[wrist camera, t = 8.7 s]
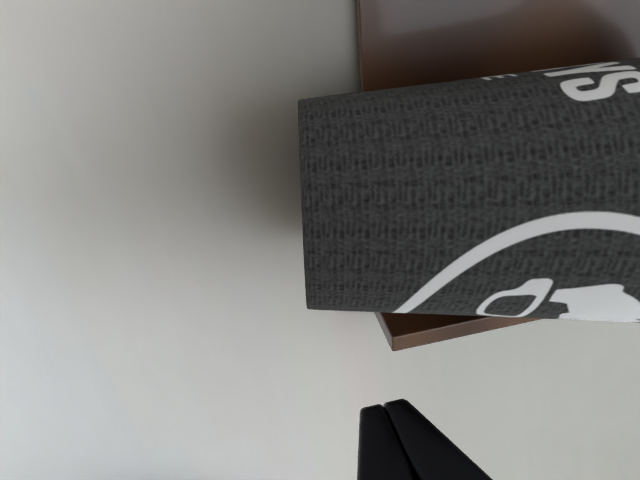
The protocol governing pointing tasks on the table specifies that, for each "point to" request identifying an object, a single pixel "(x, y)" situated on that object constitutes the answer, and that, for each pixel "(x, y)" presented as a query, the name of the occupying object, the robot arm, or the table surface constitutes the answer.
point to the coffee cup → (477, 196)
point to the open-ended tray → (481, 61)
